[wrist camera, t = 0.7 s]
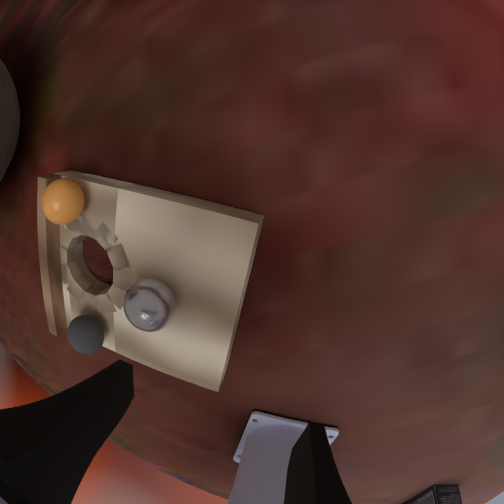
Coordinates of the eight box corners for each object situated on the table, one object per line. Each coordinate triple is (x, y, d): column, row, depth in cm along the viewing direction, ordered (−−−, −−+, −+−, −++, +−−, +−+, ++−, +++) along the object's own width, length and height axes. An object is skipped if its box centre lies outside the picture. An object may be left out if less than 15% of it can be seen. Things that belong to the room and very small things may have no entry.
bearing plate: (225, 374, 22) (212, 405, 19) (72, 313, 24) (49, 331, 21) (264, 215, 18) (253, 231, 14) (70, 170, 19) (38, 176, 16)
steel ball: (181, 321, 19) (160, 350, 16) (138, 305, 19) (113, 330, 16) (186, 278, 18) (164, 304, 15) (140, 263, 18) (112, 284, 15)
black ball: (112, 346, 21) (92, 368, 18) (83, 332, 22) (62, 351, 19) (110, 316, 20) (88, 337, 17) (80, 302, 20) (57, 321, 18)
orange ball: (92, 222, 18) (62, 236, 15) (62, 213, 18) (33, 224, 15) (95, 178, 17) (63, 185, 14) (64, 171, 17) (33, 178, 14)
